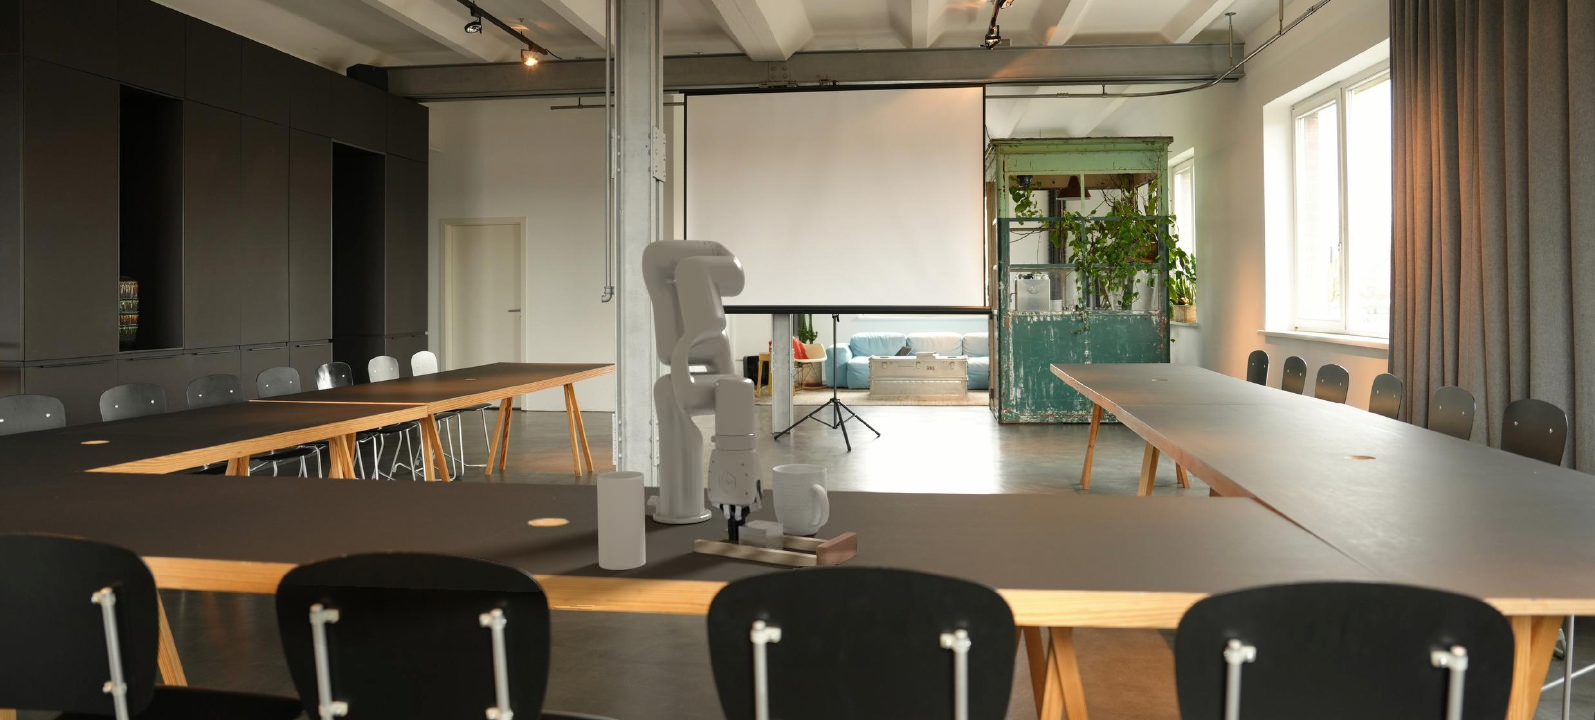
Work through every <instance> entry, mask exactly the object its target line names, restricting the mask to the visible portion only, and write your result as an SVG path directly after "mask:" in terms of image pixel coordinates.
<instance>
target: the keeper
mask: <svg viewBox="0 0 1595 720" xmlns="http://www.w3.org/2000/svg"><path fill="white" fill-rule="evenodd" d="M783 535H784V532H783V523H779V522H778V521H769V520H762V519H761V520H759V519H754V520H753V521H749V522H745V524H743V525H741V526H739V541H738V545H745V546H752V547H759V548H767V549H774V550H781V551H784V547H783Z"/></svg>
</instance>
